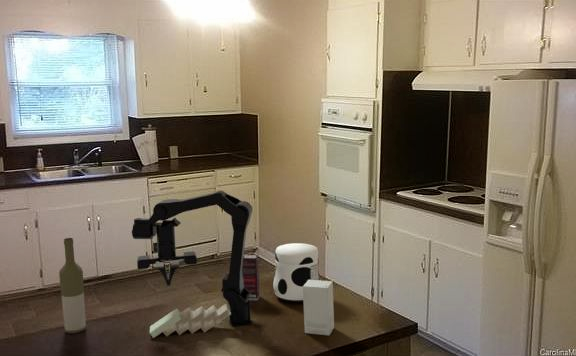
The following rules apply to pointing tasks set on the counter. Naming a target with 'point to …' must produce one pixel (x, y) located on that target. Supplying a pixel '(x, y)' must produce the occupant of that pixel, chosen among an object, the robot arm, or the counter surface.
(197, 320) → the domino
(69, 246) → the bottle
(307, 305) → the skincare box
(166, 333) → the domino
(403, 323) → the counter surface
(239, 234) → the robot arm
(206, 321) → the domino
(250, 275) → the supplement box
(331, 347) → the counter surface
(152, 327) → the domino
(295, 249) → the milk container
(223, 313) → the end domino
